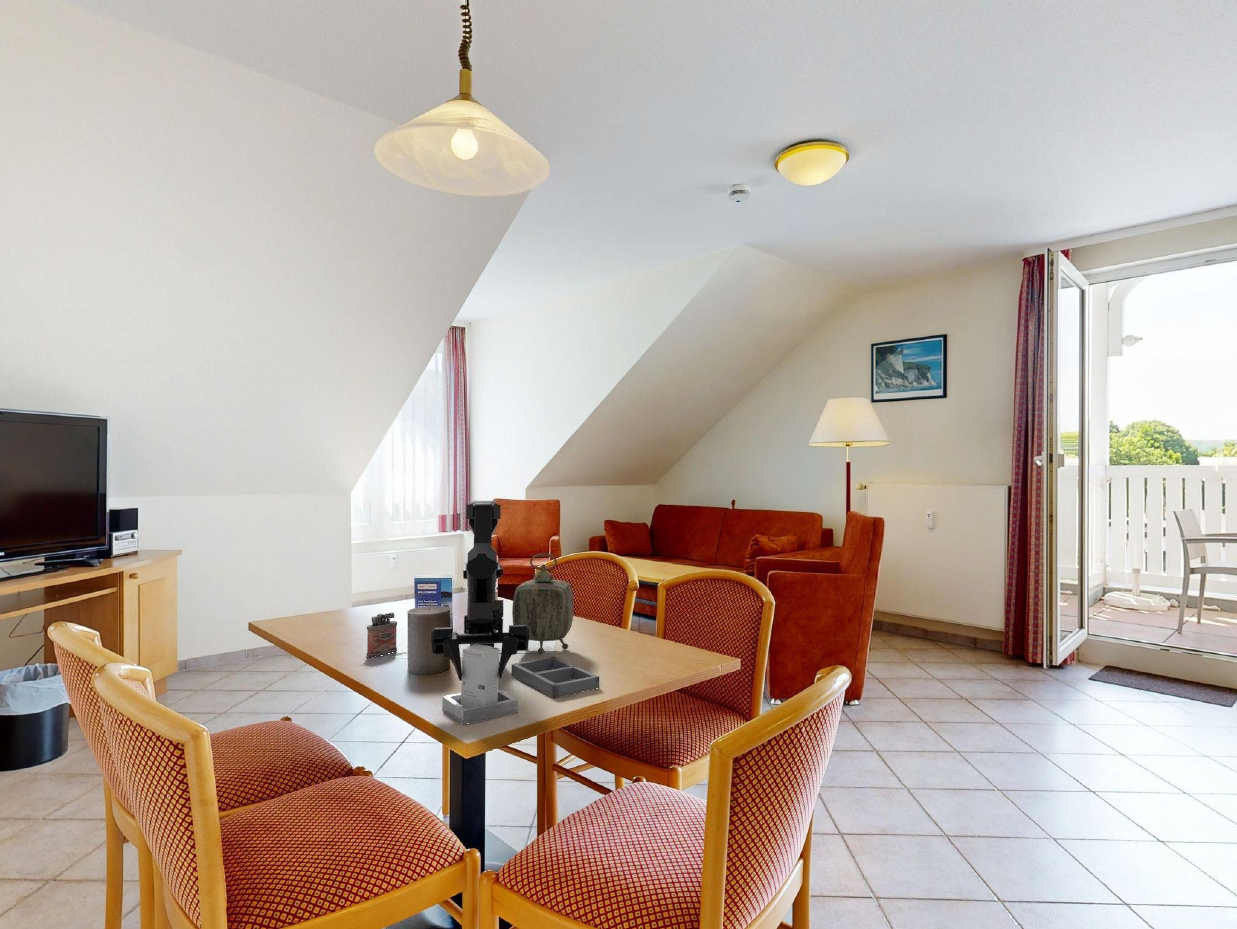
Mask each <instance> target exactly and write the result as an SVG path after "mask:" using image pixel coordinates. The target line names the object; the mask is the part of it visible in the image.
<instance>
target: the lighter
mask: <svg viewBox="0 0 1237 929" xmlns="http://www.w3.org/2000/svg"><path fill="white" fill-rule="evenodd" d="M394 618H395V612H387V613H386V612H385V613H383V614H382V613H378V614H377V615H375V616H371V623H372V624H369V625H367V626H366V630H367V642H366V643H367V646H366V647H367V648H366V649H367V650H366V651H367V652H366V658H368V657H374V658H376V657H375V656H379V657H382V656H381V655H384V656H387V655H386V654H388V653H392V652H395V653H397V652H398V647H397V626H398V621H397V620H391V619H394ZM396 651H397V652H396ZM392 654H393V653H392ZM388 655H389V654H388Z"/></svg>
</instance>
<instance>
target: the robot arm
mask: <svg viewBox="0 0 1237 929" xmlns="http://www.w3.org/2000/svg"><path fill="white" fill-rule="evenodd" d="M501 515H502V504H498V503H497V500H471V503H469V504H465V520H468V526H469V529H470V530H471V532H472V534H473V547H472V548H471V549H470V550H469V551H468V552H467V562H464V563H463V569H462V576H463V577H462V578H463V580H466V581H467V582H466V586H467V587H466V588H467V604H466V605H467V606H466V607H467V608H466V613H464V615H463V620H464V621H463V633H458V632H457V631H456V632H455V631H454V627H453V626H450V627H444V628H434V630H433V631H432V635H431V643H432V653H433V654H444V657H449V658H450V662H451V663H452V664H453V668H454V669H455V672H456V675H457V678H458V680H459V681H461V682H462V661H461V652H460V645H469V646H472V645H475V644H480V645H486V646H491V647H495V644H502V645H501V649H500V657H499V680H500V679H502V677H503V675H504V671H505V669H506V666H507V664H508V662H509V661H510V659H511V657H512V656H513V655H515V656H516V655H517V654H518V652H523V651H524V652H525V651H528V650H529V642H530V640H529V627H528V626H527V625H513V624H509V625H508V632H504V600H503V599H496V591H497V590H496V586H497V585H496V584H497V579H498V580H499V579H500V578H501V577H502V576H503V575H504V567H503V566H502V564H501V562H500V561H498V559H497V558H498V553H497V550H495V549H494V548H493V546H492V537H493V536H494V534H495V532H496V531H497V528H498V526H499V524H498V523H499V520H501V519H502V516H501Z"/></svg>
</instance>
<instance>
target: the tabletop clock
mask: <svg viewBox="0 0 1237 929" xmlns="http://www.w3.org/2000/svg"><path fill="white" fill-rule="evenodd" d="M538 557H548V558H551V559H552V560H553V561H554V565H551V566H548V567H547V566H546V564H543V563H542V564H541V565H540V566H541V567H540V566H536V565H534V564H533V560H534V559H535V558H538ZM529 560H530V561H529V564H530V566H531V567H532V568H533V569H535V570H538V572H537V573H535V574H534V576H533V578H532V579H530V580H527V581H524V582H522V583H521V584H520V585H518V586H517V587H516V588H515V590H514V593H513V598H512V610H511V612H512V625H527V626H528V627H529V641H536V642H539V648H537V653H538V654H539V655H543V654H544V653H545V649H544V648H543V645H544V644H543V643H544V642H552V641H553V642H556V641H559V642H560V643H561V644H562V645H561V648H562V650H567V649H568V648H569V644H568V643H566V642H564V641H565V640H564V638H566V636H567V635H568V633H569V632H570V630H571V628H572V625H573V621H574V620H573V619H574V608H575V607H574V606H575V605H574V604H575V603H574V595H573V594H574V593H573V589H572V586H571V583H569V582H567V581H565V580H561V579H560V580H558V579H554V576H553V574H552V573H551V572H549V571H550V570H552V569H553V570H554V568H555V567H557V565H558V561H557V559H556V557H555V556H554V555H552V554H550V553H537V554H534V555H532V557H531V558H530V559H529Z"/></svg>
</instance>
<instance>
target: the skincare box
mask: <svg viewBox="0 0 1237 929" xmlns="http://www.w3.org/2000/svg"><path fill="white" fill-rule="evenodd" d="M500 657H501V649H500V648H499V647H495V646H494V647H491V646H486V645H480V644H475V645H472V646H470V645H468V646H467V647H464V648H462V661H461V668H462V681H461V685H460V687H461V688H460V691H461V692H460V693H461V705H462V706H463V707H465V708H466V709H467V708H472V707H477V706H482V705H487V704H491V703H496V702H498V688H499V680H500V679H499V661H500Z"/></svg>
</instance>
